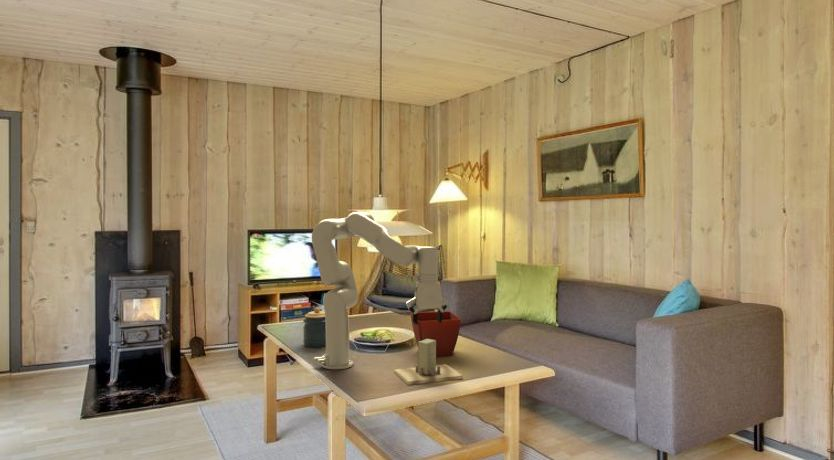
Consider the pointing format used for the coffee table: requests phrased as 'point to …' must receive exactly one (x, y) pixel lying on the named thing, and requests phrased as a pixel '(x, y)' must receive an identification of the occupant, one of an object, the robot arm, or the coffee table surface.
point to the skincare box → (427, 355)
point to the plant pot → (438, 331)
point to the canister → (315, 329)
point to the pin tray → (439, 375)
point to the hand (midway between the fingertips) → (427, 323)
